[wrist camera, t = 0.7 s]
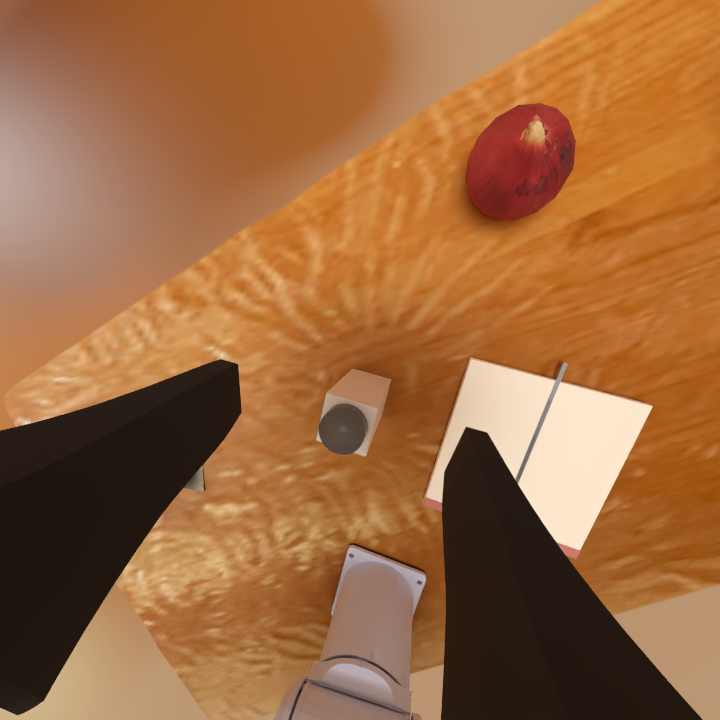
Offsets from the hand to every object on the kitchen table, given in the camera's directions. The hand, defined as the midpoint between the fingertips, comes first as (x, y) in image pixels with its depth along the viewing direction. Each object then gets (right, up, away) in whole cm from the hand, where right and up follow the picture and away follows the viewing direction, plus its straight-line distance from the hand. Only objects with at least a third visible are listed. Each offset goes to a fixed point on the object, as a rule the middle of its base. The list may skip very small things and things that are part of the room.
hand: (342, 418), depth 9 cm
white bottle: (+1, -1, +18) cm, 18 cm away
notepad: (+14, -6, +16) cm, 22 cm away
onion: (+11, +14, +13) cm, 22 cm away
